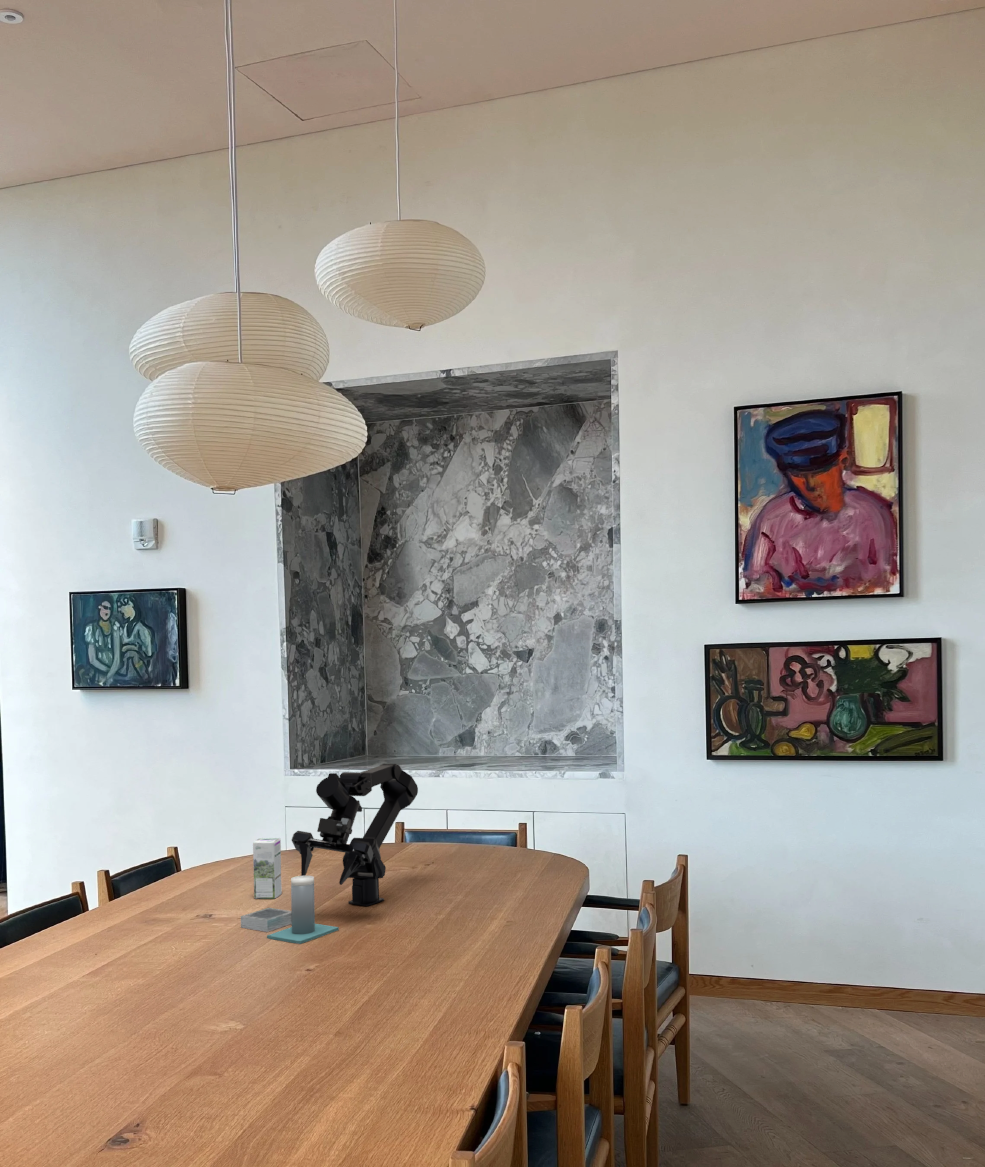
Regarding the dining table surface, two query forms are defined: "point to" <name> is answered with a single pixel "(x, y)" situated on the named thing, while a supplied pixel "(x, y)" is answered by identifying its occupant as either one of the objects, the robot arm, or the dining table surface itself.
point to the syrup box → (267, 868)
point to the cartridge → (302, 904)
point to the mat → (302, 938)
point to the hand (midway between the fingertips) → (321, 880)
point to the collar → (266, 919)
